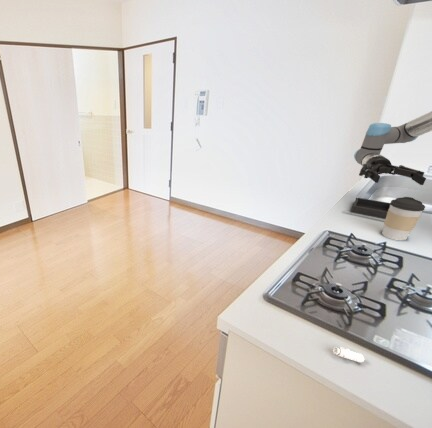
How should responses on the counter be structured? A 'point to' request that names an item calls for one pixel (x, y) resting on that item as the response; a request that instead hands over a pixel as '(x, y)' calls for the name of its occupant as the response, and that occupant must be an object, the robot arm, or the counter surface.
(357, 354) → the small white plastic part
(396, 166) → the robot arm
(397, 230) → the coffee cup
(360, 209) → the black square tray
